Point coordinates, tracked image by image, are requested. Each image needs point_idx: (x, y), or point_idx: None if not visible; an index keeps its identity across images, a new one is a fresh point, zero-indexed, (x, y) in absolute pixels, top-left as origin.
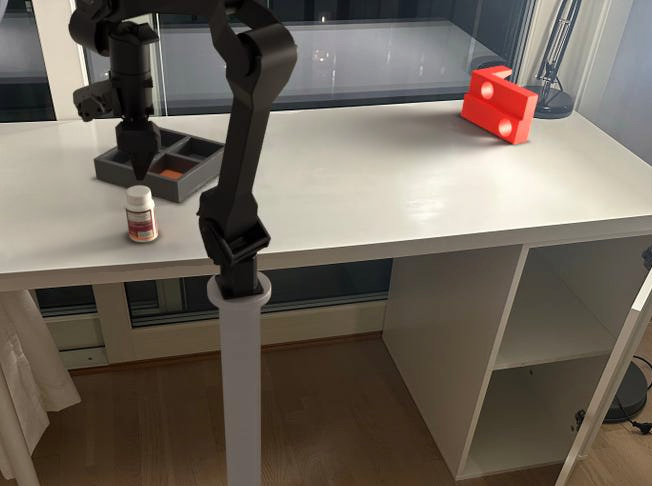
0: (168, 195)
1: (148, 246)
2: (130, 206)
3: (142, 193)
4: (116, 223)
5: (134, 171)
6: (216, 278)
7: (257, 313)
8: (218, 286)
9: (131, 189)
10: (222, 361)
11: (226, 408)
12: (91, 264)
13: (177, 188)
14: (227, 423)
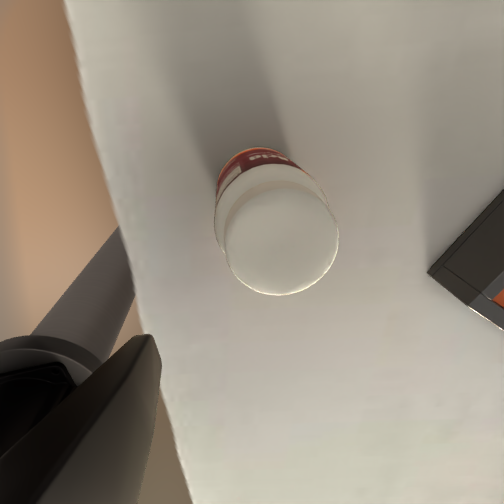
0: (460, 252)
1: (198, 206)
2: (235, 194)
3: (257, 266)
4: (346, 94)
5: (69, 399)
6: (44, 370)
7: None
8: (14, 373)
9: (303, 215)
10: (86, 271)
11: (109, 238)
12: (77, 21)
13: (454, 294)
14: (116, 229)
